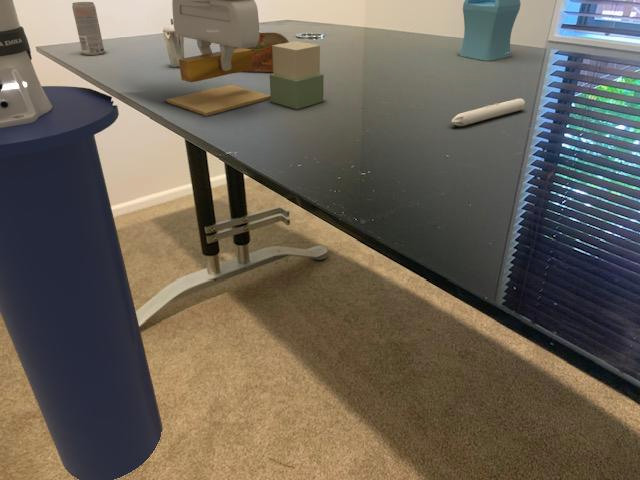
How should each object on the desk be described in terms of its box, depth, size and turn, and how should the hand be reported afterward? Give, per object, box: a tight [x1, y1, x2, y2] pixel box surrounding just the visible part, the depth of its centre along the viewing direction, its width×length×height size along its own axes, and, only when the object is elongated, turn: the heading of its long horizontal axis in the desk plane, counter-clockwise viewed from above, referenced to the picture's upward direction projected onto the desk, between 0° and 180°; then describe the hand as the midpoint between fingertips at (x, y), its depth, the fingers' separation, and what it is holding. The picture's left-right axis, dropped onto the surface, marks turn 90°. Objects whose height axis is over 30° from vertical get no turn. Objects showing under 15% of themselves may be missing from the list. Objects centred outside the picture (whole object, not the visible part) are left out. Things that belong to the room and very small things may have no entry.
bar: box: [179, 48, 253, 84], centre depth 91 cm, size 3×14×4 cm, turn 138°
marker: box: [451, 97, 526, 127], centre depth 85 cm, size 18×2×2 cm, turn 126°
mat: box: [166, 84, 271, 117], centre depth 94 cm, size 15×12×1 cm
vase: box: [459, 0, 522, 62], centre depth 125 cm, size 10×10×25 cm
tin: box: [234, 31, 290, 73], centre depth 113 cm, size 15×3×8 cm, turn 82°
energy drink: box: [71, 1, 105, 56], centre depth 128 cm, size 5×5×12 cm
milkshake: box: [162, 18, 185, 68], centre depth 117 cm, size 5×5×10 cm
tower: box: [269, 40, 325, 110], centre depth 92 cm, size 7×7×10 cm
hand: (217, 68), depth 92 cm, fingers closed on bar, 3 cm apart
